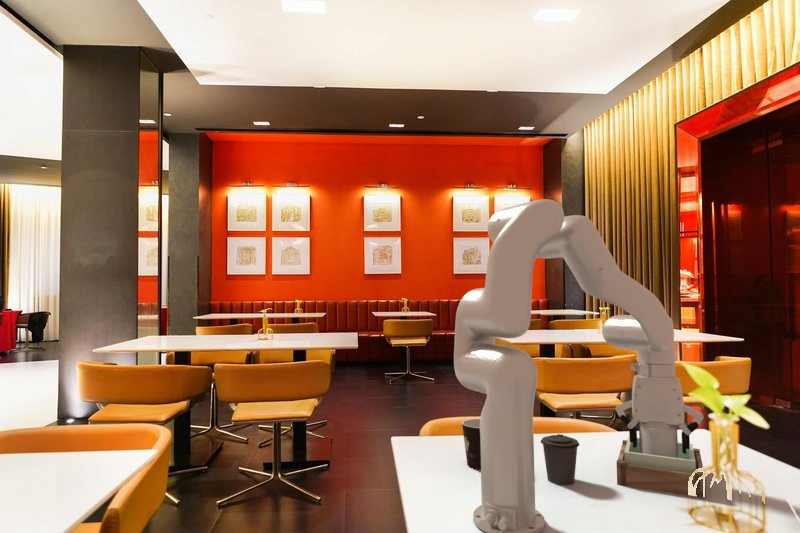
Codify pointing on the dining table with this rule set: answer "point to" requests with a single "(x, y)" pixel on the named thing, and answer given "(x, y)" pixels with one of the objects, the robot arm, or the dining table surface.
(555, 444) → the coffee cup
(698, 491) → the walnut crate
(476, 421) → the coffee mug
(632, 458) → the sage crate
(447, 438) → the dining table surface
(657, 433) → the can
